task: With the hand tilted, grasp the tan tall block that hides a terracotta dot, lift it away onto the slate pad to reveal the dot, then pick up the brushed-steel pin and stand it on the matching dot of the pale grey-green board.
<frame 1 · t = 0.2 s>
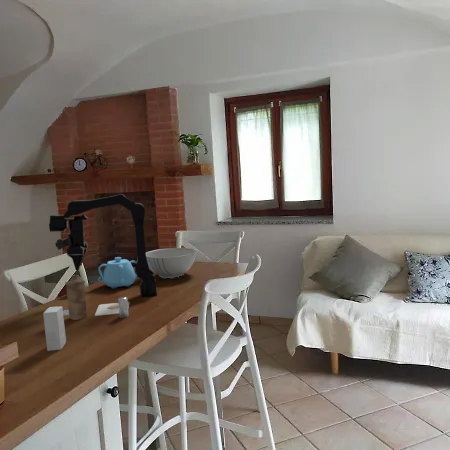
hand: (78, 268, 186), 14 cm above the counter, tool pointing down, fingers open, 9 cm apart
layout board: (96, 311, 172), on the counter
skincare box: (56, 347, 137), on the counter
decorative bowl: (171, 276, 227), on the counter
vase: (77, 294, 200), on the counter
decorative pot: (120, 285, 212), on the counter
tan tall block: (78, 317, 165), resting on layout board
pin: (124, 316, 164), on the counter
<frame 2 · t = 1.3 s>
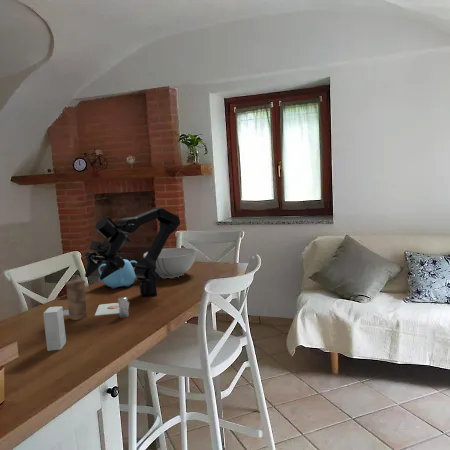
hand: (93, 278, 170), 13 cm above the counter, tool tilted 45°, fingers open, 9 cm apart
nothing on the counter moved.
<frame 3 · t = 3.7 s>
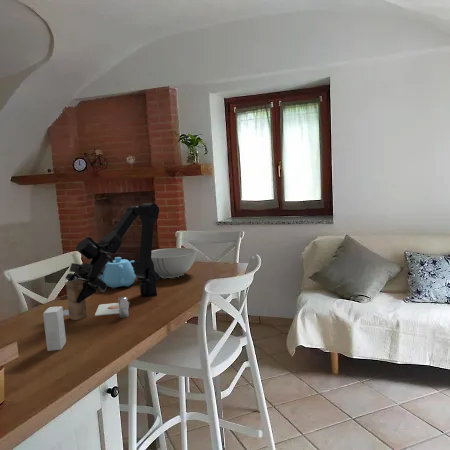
hand: (73, 301, 163), 7 cm above the counter, tool tilted 45°, fingers closed on tan tall block, 5 cm apart
tan tall block: (78, 317, 165), resting on layout board, touching gripper
everything else where it was.
when the fingers open (7 cm above the counter, at t = 7.6 s): tan tall block stays where it is, resting on layout board.
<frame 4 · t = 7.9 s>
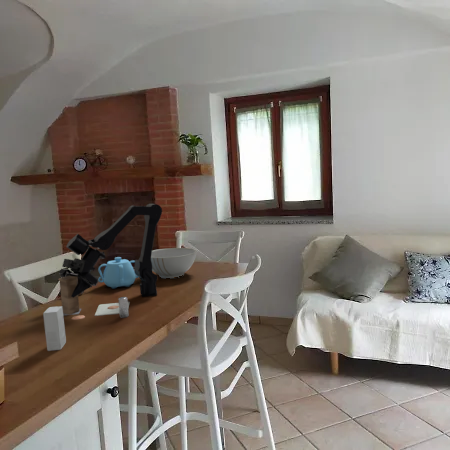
hand: (66, 295, 170), 7 cm above the counter, tool tilted 45°, fingers open, 8 cm apart
tan tall block: (71, 312, 172), resting on layout board
everything else where it was.
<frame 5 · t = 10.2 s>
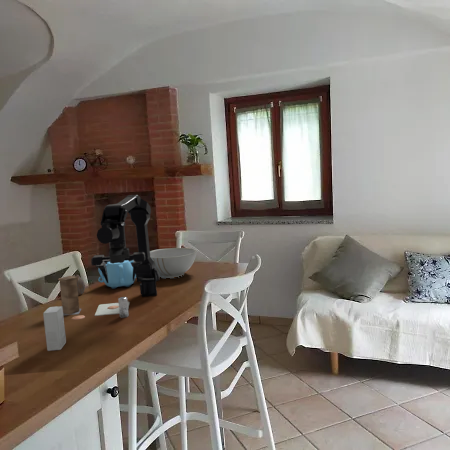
hand: (120, 281, 162), 13 cm above the counter, tool pointing down, fingers open, 9 cm apart
nothing on the counter moved.
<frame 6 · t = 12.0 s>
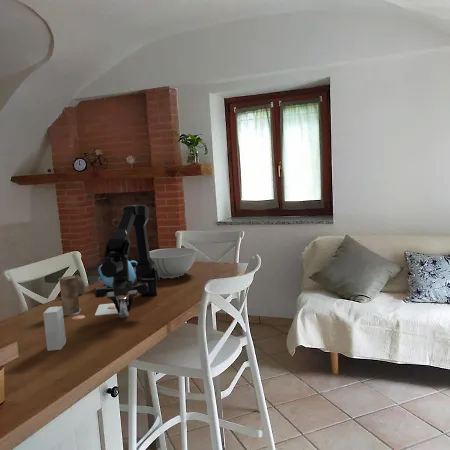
hand: (124, 312, 164), 2 cm above the counter, tool pointing down, fingers closed on pin, 3 cm apart
pin: (124, 316, 164), on the counter, touching gripper
everything else where it was.
when the fingers open (3 cm above the counter, at t = 15.9 s): pin drops 1 cm, resting on layout board.
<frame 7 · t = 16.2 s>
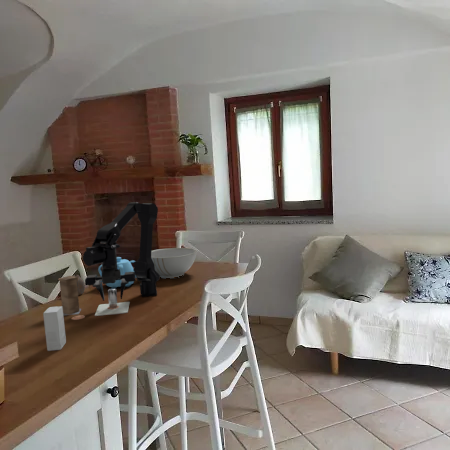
hand: (112, 299, 174), 3 cm above the counter, tool pointing down, fingers open, 6 cm apart
pin: (113, 307, 175), point 1 cm above the counter, touching layout board
everything else where it was.
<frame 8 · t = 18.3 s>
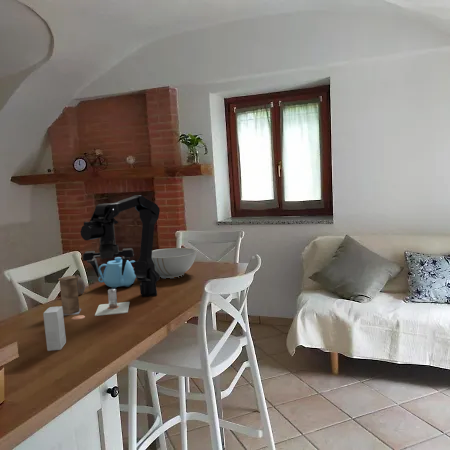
hand: (110, 276, 173), 13 cm above the counter, tool pointing down, fingers open, 9 cm apart
nothing on the counter moved.
at the end: tan tall block inside the target area (0.1 cm from its centre), resting on layout board; pin 0.1 cm from the target spot, point 0.5 cm above the counter; pin tilted 1° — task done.
